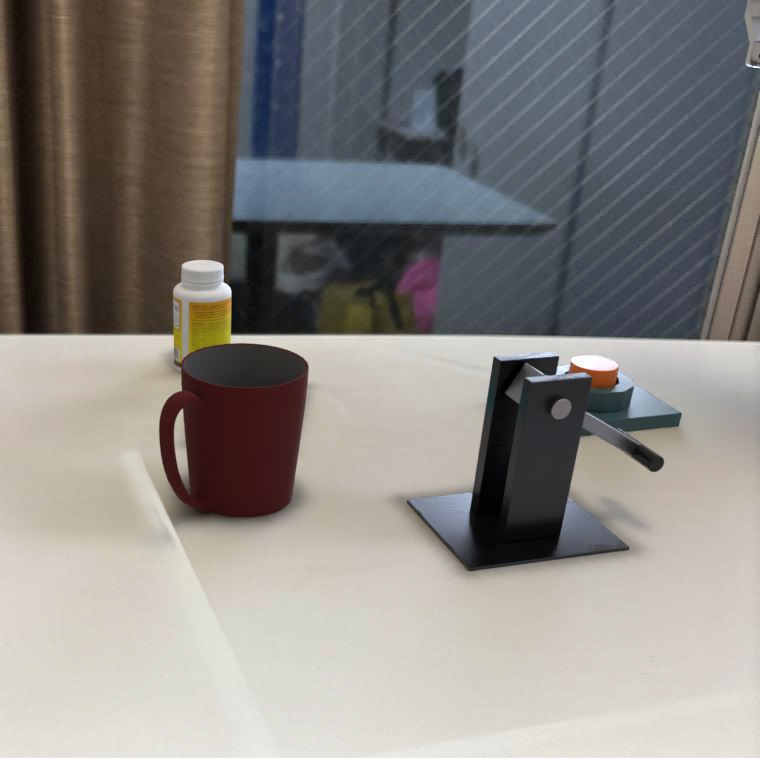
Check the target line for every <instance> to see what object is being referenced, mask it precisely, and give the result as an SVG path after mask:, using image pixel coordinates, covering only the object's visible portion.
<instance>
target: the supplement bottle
mask: <svg viewBox="0 0 760 758" xmlns="http://www.w3.org/2000/svg"><path fill="white" fill-rule="evenodd" d="M224 269H225V268H224V264H223V263H221V262H218V261H215V260H210V259H209V260H208V259H196V260H188V261H186V262H184V263H182V264H181V272H180V273H181V274H180V278H181V279H180V281H181V282H179V283H177V284H176V285H175V286H174V288H173V290H172V291H173V292H172V315H173V316H172V317H173V318H172V319H173V321H172V325H173V366H174V367H175V369H176V370H177V371H178V372H180V373H181V362H182V360H183V358H184V357H185V356H187V355H188V354H189V353H191V352H193V351H196V350H198V349H201V348H205V347H209V346H214V345H221V344H232V295H233V294H232V289H231V287H230V286H229V285H228V284H227V283H225V282H224V281H225V280H224V278H225V275H224Z"/></svg>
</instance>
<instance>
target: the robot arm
mask: <svg viewBox="0 0 760 758" xmlns="http://www.w3.org/2000/svg"><path fill="white" fill-rule="evenodd" d="M743 18H744V22H745V27H746V32H747V38H748V41H749V45H748V48H747V53H746V58H745V65H746V66H747V67H749V68H757V69H758V68H759V69H760V0H747V3H746V7H745V12H744V17H743Z"/></svg>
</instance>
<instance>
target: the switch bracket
mask: <svg viewBox="0 0 760 758" xmlns="http://www.w3.org/2000/svg"><path fill="white" fill-rule="evenodd" d="M559 361H560V355H558V354H557V353H555V352H554V351H542V352H541V351H540V352H530V353H519V354H517V353H516V354H505V355H495V356H492V364H491V371H490V377H489V383H488V389H487V397H486V401H485V402H486V403H485V409H484V415H483V422H482V427H481V428H482V429H481V430H482V431H481V436H480V441H479V448H478V455H477V460H476V461H477V462H476V468H475V475H474V482H473V487H472V488H473V489H472V491H471V492H464V493H455V494H454V493H453V494H446V495H445V494H444V495H438V496H437V495H436V496H428V497H420V498H419V497H418V498H411V499H410V498H409V499H407V500H406V504H407V505H409V507H410V508H411V509H412V510H413V512H415V514H417V515H418V517H419V518H420V519H421V520H422V521H423V522H424V524H425V525H426V526H428V528H429V529H430V530H431V531H432V532H433V533H434V535H436V537H437V538H438V539H439V540H440V541H441V542H442V543H443V544H444V546H445V547H446V548H447V549H448V550H449V551H450V552H451V553H452V555H454V557H456V559H457V560H458V561H459V562H460V563H461V565H462V566H463V567H465V569H466V570H467V571H468V572H474V571H475V572H476V571H482V570H490V569H497V568H498V569H499V568H507V567H511V566H512V567H514V566H519V565H520V566H521V565H529V564H534V563H543V562H549V561H556V560H557V561H558V560H564V559H571V558H579V557H586V556H595V555H601V554H609V553H615V552H616V553H617V552H625V551H630V546H629V545H628V544H626V543H625V542H624V541H623V540H622V539H620V538H619V537H618V536H617V535H616V534H615V533H613V531H611V530H610V529H609V528H607V527H606V526H605V525H604V524H602V523H601V522H600V520H598V519H597V518H595V517H594V516H593V515H592V514H590V512H588V511H587V510H586V509H585V508H583V507H582V506H581V505H580V504H578V503H577V502H576V501H575V500H573V498H571V497H570V496H569V495H570V490H571V484H572V480H573V475H574V470H575V465H576V461H577V456H578V451H579V447H580V446H579V445H580V442H581V437H582V436H581V432H582V427H583V422H584V417H585V412H586V408H587V403H588V398H589V393H590V388H591V383H592V377H591V376H589V375H588V374H586V373H572V374H561V375H556V372H557V367H559ZM525 363H527V364H529V365H531V366H532V367H534V368H536V369H537V370H539V371H541V372H542V373H544V374H546V375H547V376H538V377H527V378H524V380H523V386H522V392H521V398H520V404H518V403H516V402H515V401H514V400H512V399H511V398H510V397H508V396H507V395H506V394H505V392H506V390H507V389H508V387H509V386H510V385H511V383H512V382H513V380H514V379H515V377H516V376H517V374H518V373H519V371H520V370H521V369H522V367H523V366H524V364H525Z"/></svg>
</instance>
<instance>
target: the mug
mask: <svg viewBox="0 0 760 758" xmlns="http://www.w3.org/2000/svg"><path fill="white" fill-rule="evenodd" d="M309 369H310V366H309V363H308V361H307V360H306V359H305V358H304V357H303V356H301V355H300V354H298V353H296V352H294V351H292V350H289V349H286V348H283V347H278V346H274V345H270V344H269V345H268V344H262V343H246V342H245V343H244V342H238V343H237V342H236V343H232V342H231V344H221V345H214V346H209V347H205V348H201V349H198V350H196V351H193V352H191V353H189V354H188V355H187V356H185V357H184V358H183V360H182V362H181V372H180V383H181V385H180V386H181V390H180V391H176V392H174V393H172V394H171V395H170V396H169V397H168V398H167V399H166V400H165V402H164V403H163V406H162V408H161V411H160V416H159V421H158V422H159V423H158V440H159V441H158V442H159V449H160V457H161V462H162V466H163V470H164V474H165V476H166V479H167V482H168V484H169V486H170V488H171V489H172V491H173V492H174V494H175V495H176V497H177V498H178V499H179V500H180V501H181V503H183V504H184V505H186V506H187V507H189V508H191V509H193V510H195V511H198V512H203V513H206V514H214V515H217V516H222V517H228V518H239V519H245V518H246V519H248V518H250V519H251V518H259V517H265V516H269V515H272V514H275V513H277V512H280V511H282V510H283V509H285V508H286V507H288V506H289V504H290V503H291V502H292V498H293V493H294V487H295V486H294V485H295V481H296V474H297V473H296V472H297V467H298V461H299V454H300V447H301V446H300V445H301V439H302V433H303V426H304V417H305V410H306V402H307V393H308V386H309V385H308V383H309ZM181 411H182V412H183V413H182V415H183V428H184V440H185V449H186V460H187V461H186V462H187V473H188V482H189V483H188V484H189V490H187V488H186V486H185V485H184V481H183V480H182V477H181V474H180V471H179V467H178V461H177V454H176V447H175V427H176V426H175V425H176V420H177V418H178V416H179V414H180V413H181Z"/></svg>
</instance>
